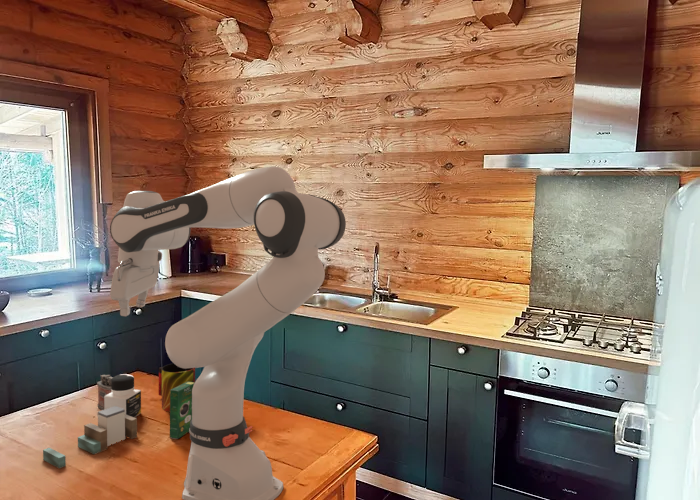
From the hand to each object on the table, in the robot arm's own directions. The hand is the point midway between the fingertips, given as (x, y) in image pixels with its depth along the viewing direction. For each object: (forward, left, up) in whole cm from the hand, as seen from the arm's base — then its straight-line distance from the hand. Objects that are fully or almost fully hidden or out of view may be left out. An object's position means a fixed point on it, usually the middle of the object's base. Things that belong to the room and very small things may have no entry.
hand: (132, 310), depth 132 cm
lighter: (+27, -10, -35) cm, 45 cm away
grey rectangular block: (+7, +2, -35) cm, 36 cm away
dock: (+7, +7, -35) cm, 36 cm away
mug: (+14, -23, -35) cm, 44 cm away
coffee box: (-4, -12, -35) cm, 37 cm away
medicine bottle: (+18, -9, -35) cm, 40 cm away
